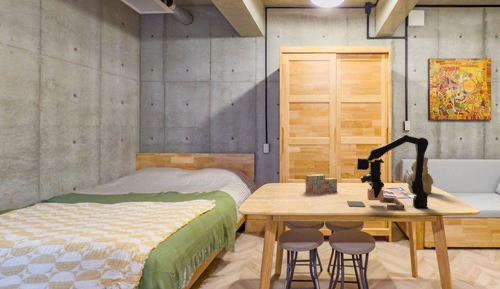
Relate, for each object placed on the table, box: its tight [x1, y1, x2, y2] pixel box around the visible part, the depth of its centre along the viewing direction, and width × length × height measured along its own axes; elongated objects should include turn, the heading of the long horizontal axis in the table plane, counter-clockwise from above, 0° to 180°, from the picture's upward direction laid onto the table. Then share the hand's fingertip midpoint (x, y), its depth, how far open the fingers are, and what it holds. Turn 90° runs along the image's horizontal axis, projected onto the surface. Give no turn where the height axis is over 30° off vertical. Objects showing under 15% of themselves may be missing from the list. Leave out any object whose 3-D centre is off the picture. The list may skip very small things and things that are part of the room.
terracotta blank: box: [367, 188, 384, 202], centre depth 202 cm, size 8×5×6 cm, turn 80°
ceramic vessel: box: [406, 157, 434, 195], centre depth 237 cm, size 17×20×25 cm
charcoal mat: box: [346, 200, 366, 208], centre depth 204 cm, size 9×12×1 cm
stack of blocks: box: [304, 173, 338, 194], centre depth 244 cm, size 21×6×12 cm, turn 102°
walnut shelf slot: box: [379, 196, 405, 211], centre depth 201 cm, size 9×21×2 cm, turn 170°
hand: (375, 196), depth 202 cm, fingers closed on terracotta blank, 5 cm apart
